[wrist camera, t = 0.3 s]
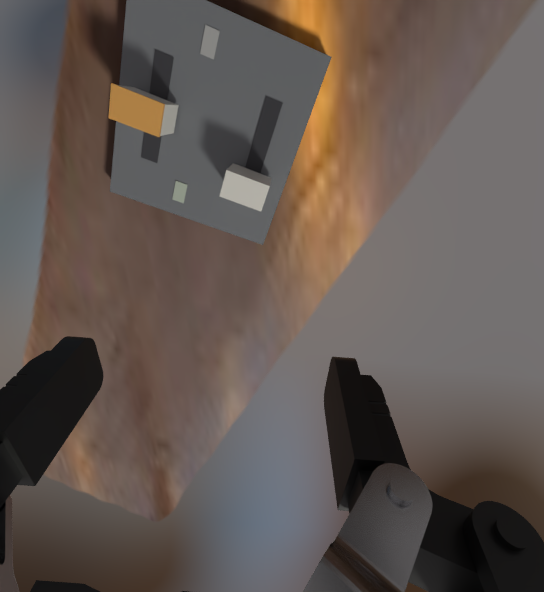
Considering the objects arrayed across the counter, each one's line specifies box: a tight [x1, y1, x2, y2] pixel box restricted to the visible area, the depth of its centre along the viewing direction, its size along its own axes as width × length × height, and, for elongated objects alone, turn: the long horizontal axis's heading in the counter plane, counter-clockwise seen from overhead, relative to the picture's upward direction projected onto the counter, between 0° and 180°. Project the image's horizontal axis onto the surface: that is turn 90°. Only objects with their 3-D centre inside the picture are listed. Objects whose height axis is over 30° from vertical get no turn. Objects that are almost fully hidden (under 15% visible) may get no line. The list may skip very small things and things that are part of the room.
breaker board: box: [110, 0, 331, 245], centre depth 29 cm, size 18×17×6 cm
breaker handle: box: [109, 83, 178, 137], centre depth 27 cm, size 2×4×4 cm, turn 70°
